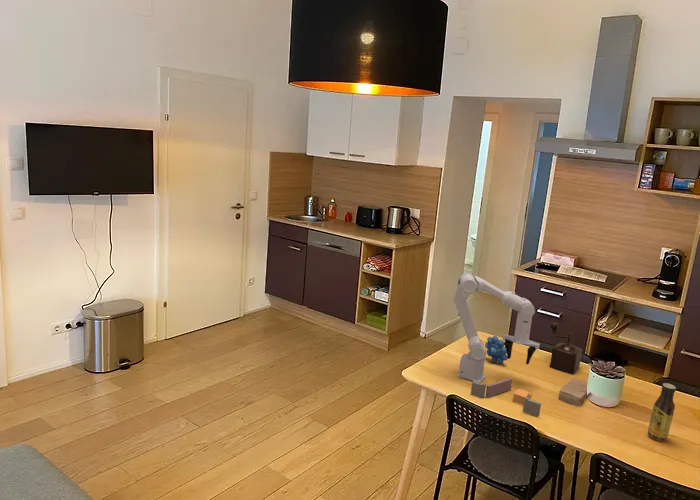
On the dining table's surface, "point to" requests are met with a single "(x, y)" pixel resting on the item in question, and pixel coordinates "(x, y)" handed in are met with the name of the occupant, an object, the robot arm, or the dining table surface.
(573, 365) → the manual coffee grinder
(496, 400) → the dining table surface
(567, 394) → the brick
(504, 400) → the dining table surface
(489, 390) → the door
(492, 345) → the grapes
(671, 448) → the dining table surface
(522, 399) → the orange brown block
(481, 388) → the wall frame
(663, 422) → the sauce bottle
